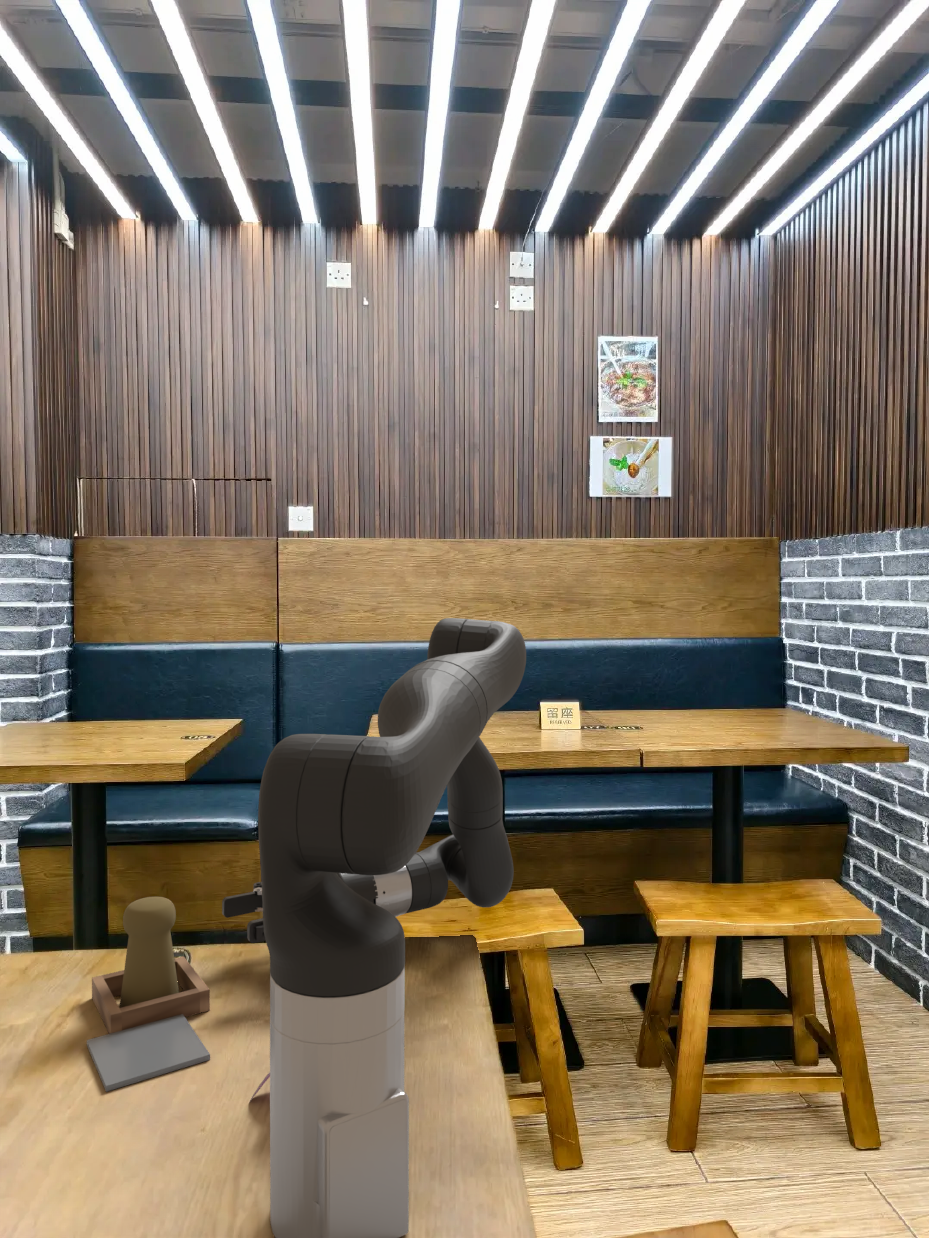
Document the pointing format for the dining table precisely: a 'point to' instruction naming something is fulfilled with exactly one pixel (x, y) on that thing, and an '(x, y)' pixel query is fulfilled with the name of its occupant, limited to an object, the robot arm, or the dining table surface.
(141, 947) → the cork
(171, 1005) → the caddy
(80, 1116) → the dining table surface
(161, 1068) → the plate
